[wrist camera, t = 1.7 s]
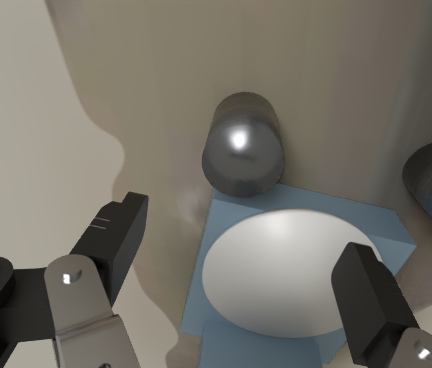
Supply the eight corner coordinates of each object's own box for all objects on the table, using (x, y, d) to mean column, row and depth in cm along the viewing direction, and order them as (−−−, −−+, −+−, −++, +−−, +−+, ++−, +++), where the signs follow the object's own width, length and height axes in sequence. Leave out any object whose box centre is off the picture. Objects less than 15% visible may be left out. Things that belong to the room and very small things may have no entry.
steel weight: (220, 85, 21) (210, 116, 16) (285, 100, 21) (296, 136, 16) (207, 144, 23) (195, 188, 18) (265, 158, 23) (270, 205, 18)
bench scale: (221, 158, 24) (209, 226, 17) (401, 200, 24) (459, 282, 17) (186, 298, 32) (169, 380, 26) (318, 327, 33) (336, 415, 26)
